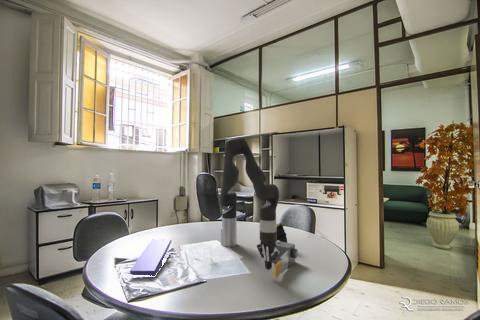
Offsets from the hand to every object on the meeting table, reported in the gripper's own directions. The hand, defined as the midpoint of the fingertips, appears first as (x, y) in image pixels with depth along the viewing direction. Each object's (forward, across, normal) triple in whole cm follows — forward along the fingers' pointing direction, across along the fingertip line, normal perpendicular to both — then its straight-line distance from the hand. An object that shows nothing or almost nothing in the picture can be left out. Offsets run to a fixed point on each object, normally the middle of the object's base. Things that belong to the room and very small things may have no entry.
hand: (268, 268), depth 103 cm
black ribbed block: (+4, -22, +30) cm, 38 cm away
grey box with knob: (+4, -5, +18) cm, 19 cm away
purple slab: (+4, -46, -34) cm, 58 cm away
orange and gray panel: (+3, +2, +7) cm, 8 cm away
